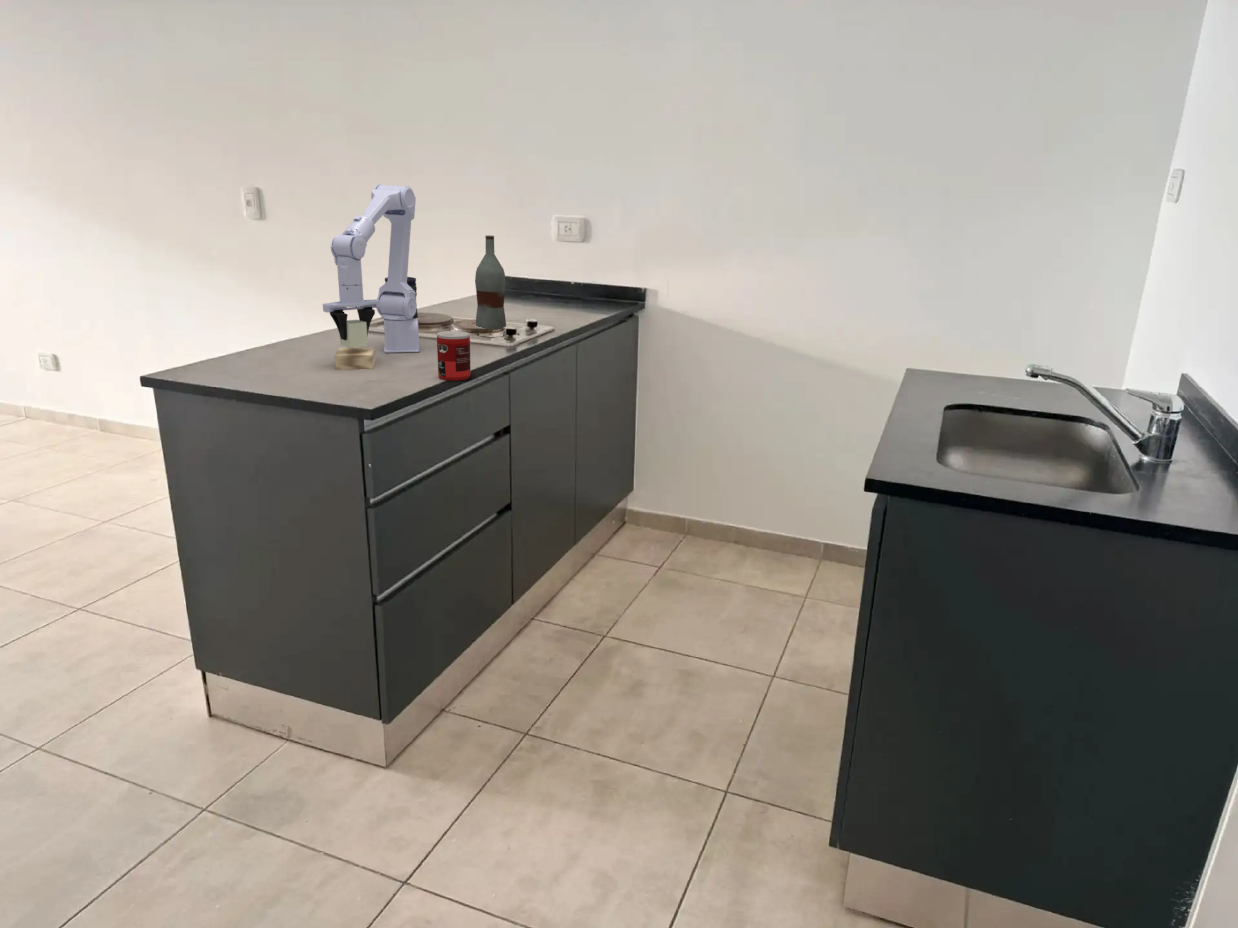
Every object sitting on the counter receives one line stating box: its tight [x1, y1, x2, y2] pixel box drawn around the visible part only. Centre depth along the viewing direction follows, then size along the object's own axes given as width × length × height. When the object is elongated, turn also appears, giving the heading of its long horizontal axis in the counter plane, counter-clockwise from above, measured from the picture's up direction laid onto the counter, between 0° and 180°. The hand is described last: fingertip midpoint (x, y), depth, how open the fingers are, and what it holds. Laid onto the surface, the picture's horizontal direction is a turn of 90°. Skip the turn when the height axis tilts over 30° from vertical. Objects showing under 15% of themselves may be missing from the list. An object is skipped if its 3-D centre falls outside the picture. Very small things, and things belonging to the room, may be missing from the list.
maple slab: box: [334, 347, 376, 371], centre depth 218 cm, size 9×9×4 cm
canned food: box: [436, 330, 471, 382], centre depth 209 cm, size 8×8×11 cm
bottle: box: [474, 234, 507, 330], centre depth 259 cm, size 9×9×30 cm
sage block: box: [339, 319, 369, 348], centre depth 216 cm, size 5×5×6 cm
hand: (354, 338), depth 216 cm, fingers closed on sage block, 5 cm apart
